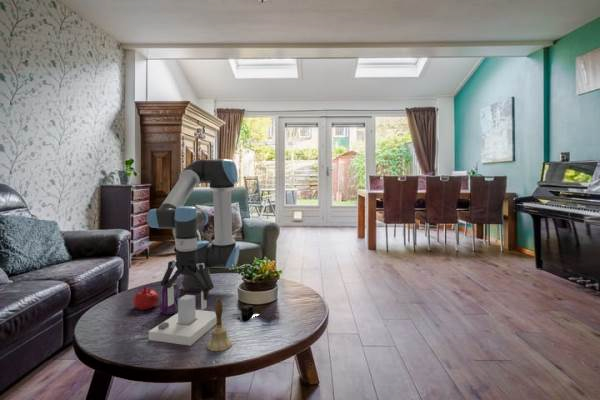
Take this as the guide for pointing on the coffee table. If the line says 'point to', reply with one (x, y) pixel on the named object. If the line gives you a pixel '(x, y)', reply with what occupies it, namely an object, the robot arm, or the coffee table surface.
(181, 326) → the socket plate
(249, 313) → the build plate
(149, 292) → the pomegranate
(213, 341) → the hand bell
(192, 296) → the plug
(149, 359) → the coffee table surface
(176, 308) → the beverage can
